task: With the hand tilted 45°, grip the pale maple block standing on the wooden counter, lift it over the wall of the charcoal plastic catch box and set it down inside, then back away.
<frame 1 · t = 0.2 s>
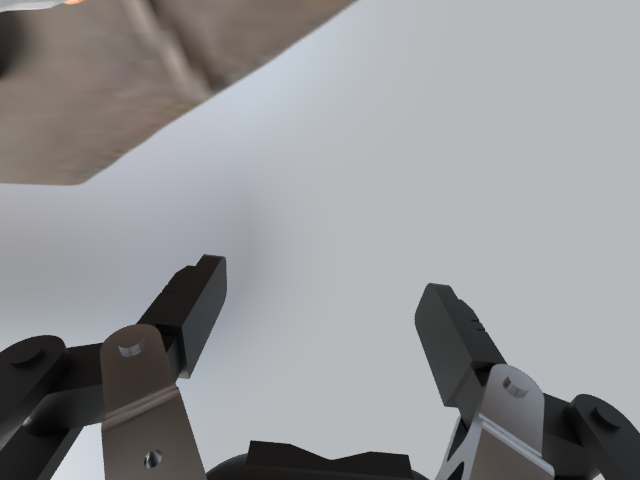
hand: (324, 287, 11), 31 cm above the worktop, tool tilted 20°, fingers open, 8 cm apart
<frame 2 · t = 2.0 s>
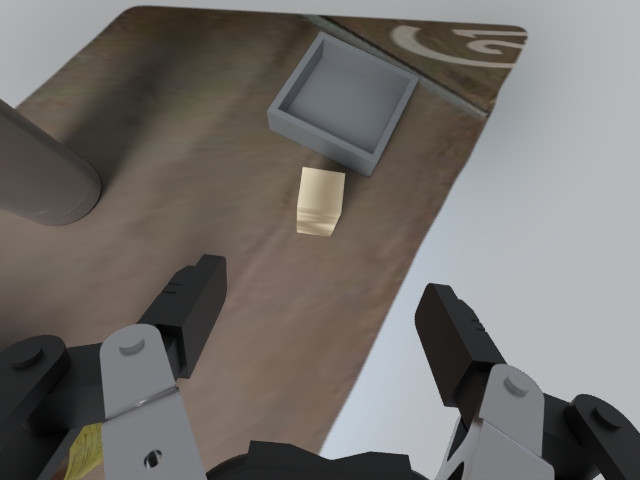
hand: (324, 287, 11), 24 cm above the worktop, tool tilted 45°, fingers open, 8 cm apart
sauce bottle: (116, 414, 30), on the worktop
maple block: (315, 218, 38), on the worktop
catch box: (342, 112, 43), on the worktop
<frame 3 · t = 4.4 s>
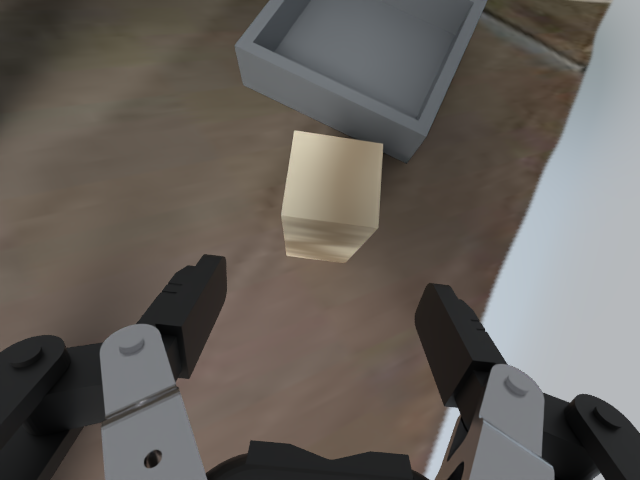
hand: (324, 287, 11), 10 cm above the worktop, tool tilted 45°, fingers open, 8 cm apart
maple block: (319, 231, 22), on the worktop
catch box: (360, 61, 27), on the worktop
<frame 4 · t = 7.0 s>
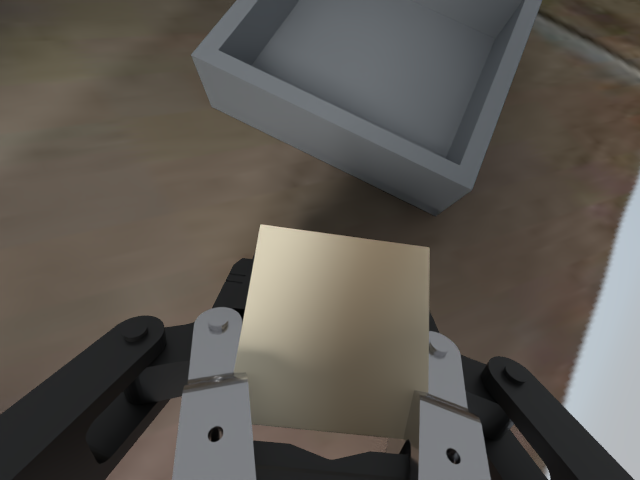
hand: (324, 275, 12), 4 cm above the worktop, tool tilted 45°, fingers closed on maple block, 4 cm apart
maple block: (313, 320, 15), on the worktop, touching gripper
catch box: (370, 73, 20), on the worktop
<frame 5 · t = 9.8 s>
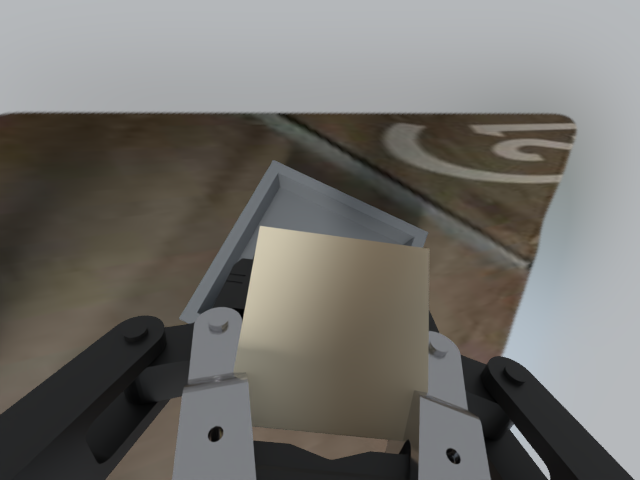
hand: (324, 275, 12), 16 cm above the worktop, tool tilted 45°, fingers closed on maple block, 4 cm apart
maple block: (313, 321, 15), point 12 cm above the worktop, touching gripper
catch box: (310, 278, 28), on the worktop
when the fingers open (6 cm above the worktop, at t = 12.8 s): maple block drops 1 cm, resting on catch box.
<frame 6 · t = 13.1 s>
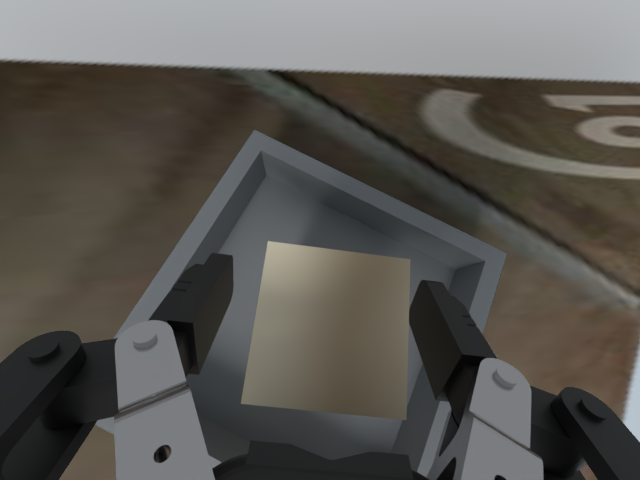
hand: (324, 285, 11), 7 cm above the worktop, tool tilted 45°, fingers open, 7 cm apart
maple block: (313, 320, 17), point 1 cm above the worktop, touching catch box
catch box: (311, 319, 18), on the worktop
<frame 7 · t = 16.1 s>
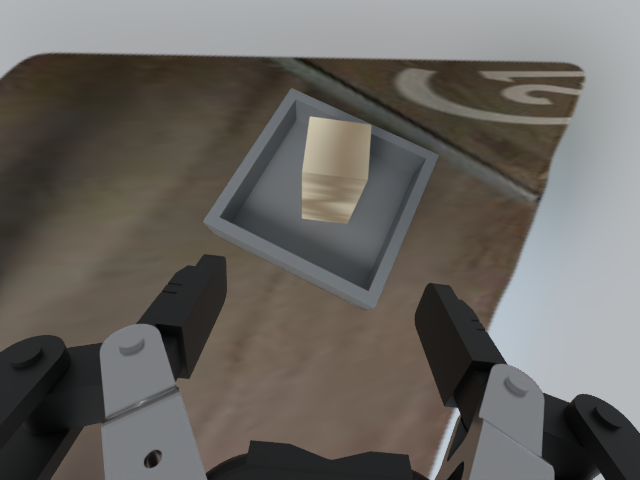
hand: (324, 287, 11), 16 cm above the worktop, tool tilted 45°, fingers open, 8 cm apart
maple block: (326, 200, 28), point 1 cm above the worktop, touching catch box
catch box: (325, 203, 29), on the worktop
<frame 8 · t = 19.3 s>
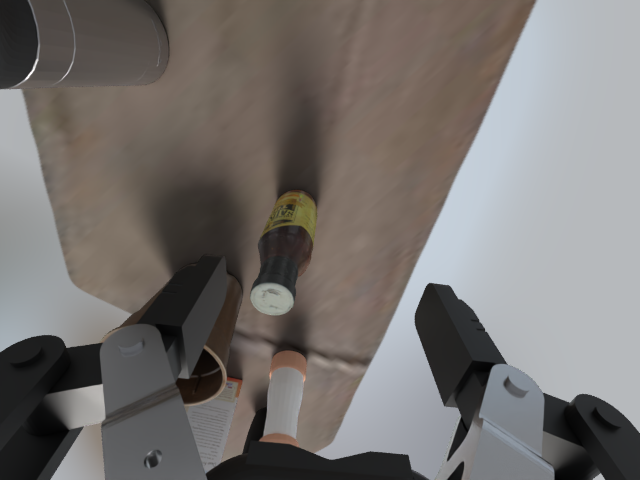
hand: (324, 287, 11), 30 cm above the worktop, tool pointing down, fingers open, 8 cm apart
sauce bottle: (296, 207, 42), on the worktop
plant pot: (208, 289, 51), on the worktop
cracker box: (210, 379, 63), on the worktop
pepper shaker: (289, 361, 60), on the worktop
mug: (270, 410, 69), on the worktop
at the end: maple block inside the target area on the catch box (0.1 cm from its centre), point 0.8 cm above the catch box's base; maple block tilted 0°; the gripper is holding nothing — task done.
